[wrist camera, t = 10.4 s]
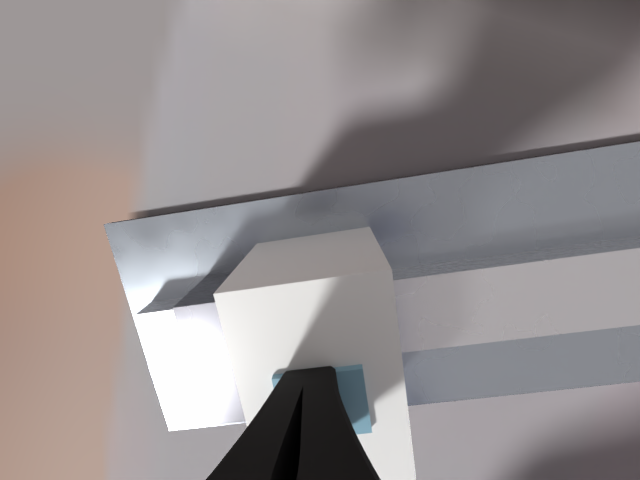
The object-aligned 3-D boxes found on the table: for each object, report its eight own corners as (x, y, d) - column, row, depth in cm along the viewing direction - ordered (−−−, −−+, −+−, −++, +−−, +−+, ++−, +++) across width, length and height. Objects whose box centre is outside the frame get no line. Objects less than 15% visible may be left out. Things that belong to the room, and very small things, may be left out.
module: (389, 381, 15) (419, 500, 10) (288, 392, 15) (266, 514, 10) (369, 226, 13) (393, 271, 8) (256, 243, 13) (210, 297, 8)
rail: (761, 363, 14) (886, 424, 11) (172, 425, 16) (132, 493, 13) (805, 114, 12) (985, 99, 8) (108, 223, 14) (39, 243, 10)
